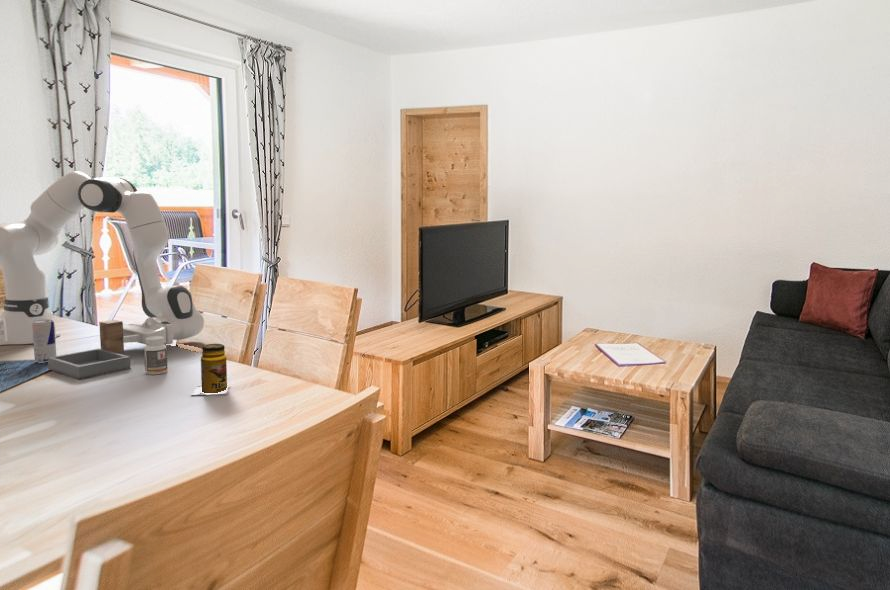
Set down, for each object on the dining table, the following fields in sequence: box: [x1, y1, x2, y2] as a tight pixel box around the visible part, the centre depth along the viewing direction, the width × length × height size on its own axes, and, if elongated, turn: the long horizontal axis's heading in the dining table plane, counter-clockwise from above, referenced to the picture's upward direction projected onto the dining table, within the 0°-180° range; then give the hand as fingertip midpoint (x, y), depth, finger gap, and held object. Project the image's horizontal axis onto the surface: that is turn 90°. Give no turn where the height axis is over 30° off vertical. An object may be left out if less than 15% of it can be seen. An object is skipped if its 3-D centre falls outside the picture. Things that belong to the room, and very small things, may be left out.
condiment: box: [198, 343, 228, 393], centre depth 150 cm, size 7×8×12 cm
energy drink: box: [32, 320, 57, 364], centre depth 173 cm, size 5×5×12 cm
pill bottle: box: [143, 336, 169, 376], centre depth 165 cm, size 6×6×10 cm
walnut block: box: [98, 319, 125, 355], centre depth 180 cm, size 4×4×11 cm
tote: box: [47, 347, 132, 381], centre depth 167 cm, size 16×14×4 cm
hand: (113, 337), depth 180 cm, fingers open, 8 cm apart
